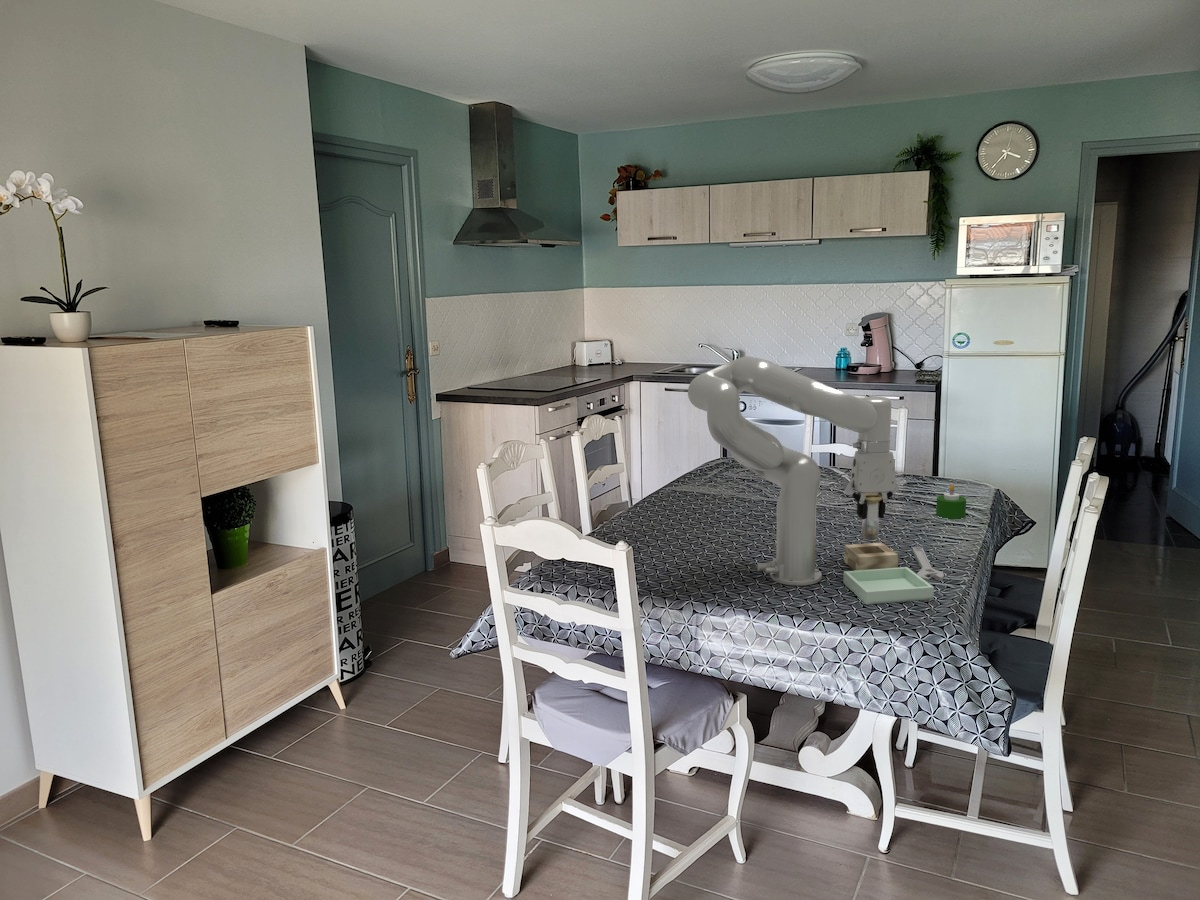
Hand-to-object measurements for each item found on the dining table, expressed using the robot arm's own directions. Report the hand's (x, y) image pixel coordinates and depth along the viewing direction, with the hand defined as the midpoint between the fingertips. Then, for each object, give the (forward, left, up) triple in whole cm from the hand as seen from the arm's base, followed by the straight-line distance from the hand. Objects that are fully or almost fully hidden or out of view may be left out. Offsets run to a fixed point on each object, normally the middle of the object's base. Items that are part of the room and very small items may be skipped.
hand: (870, 516), depth 222 cm
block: (0, 0, -13) cm, 13 cm away
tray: (-3, -17, -13) cm, 22 cm away
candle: (+41, +38, -14) cm, 58 cm away
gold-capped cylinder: (0, 0, -5) cm, 5 cm away
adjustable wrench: (+14, -2, -14) cm, 20 cm away
